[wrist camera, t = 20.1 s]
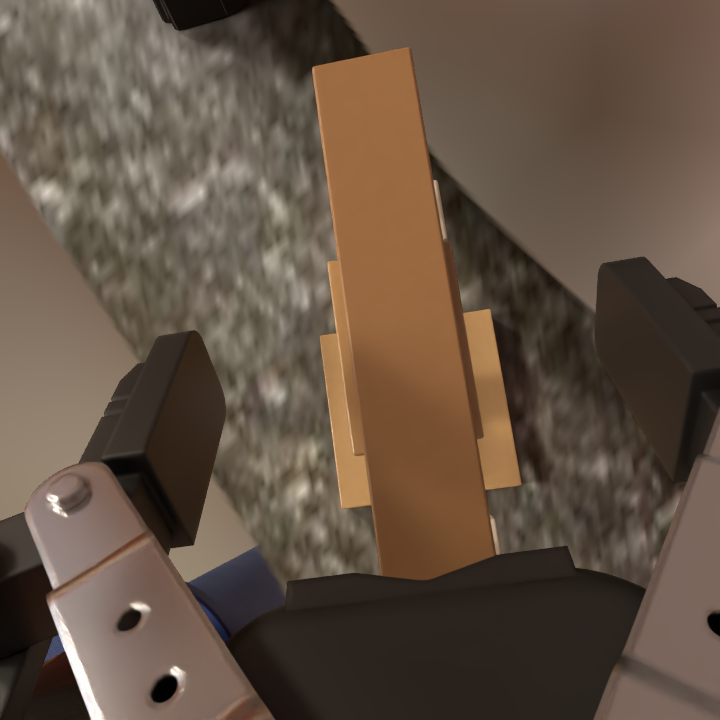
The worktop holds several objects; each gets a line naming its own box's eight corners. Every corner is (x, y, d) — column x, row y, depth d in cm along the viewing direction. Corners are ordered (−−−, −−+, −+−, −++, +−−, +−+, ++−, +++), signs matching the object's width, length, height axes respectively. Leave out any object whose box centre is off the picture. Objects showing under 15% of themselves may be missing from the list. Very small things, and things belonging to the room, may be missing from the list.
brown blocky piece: (398, 575, 26) (358, 713, 12) (351, 244, 28) (275, 46, 15) (492, 564, 25) (562, 693, 12) (436, 229, 28) (440, 11, 14)
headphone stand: (345, 506, 35) (226, 579, 14) (324, 340, 37) (191, 193, 16) (517, 484, 34) (654, 527, 14) (487, 315, 36) (568, 124, 15)
